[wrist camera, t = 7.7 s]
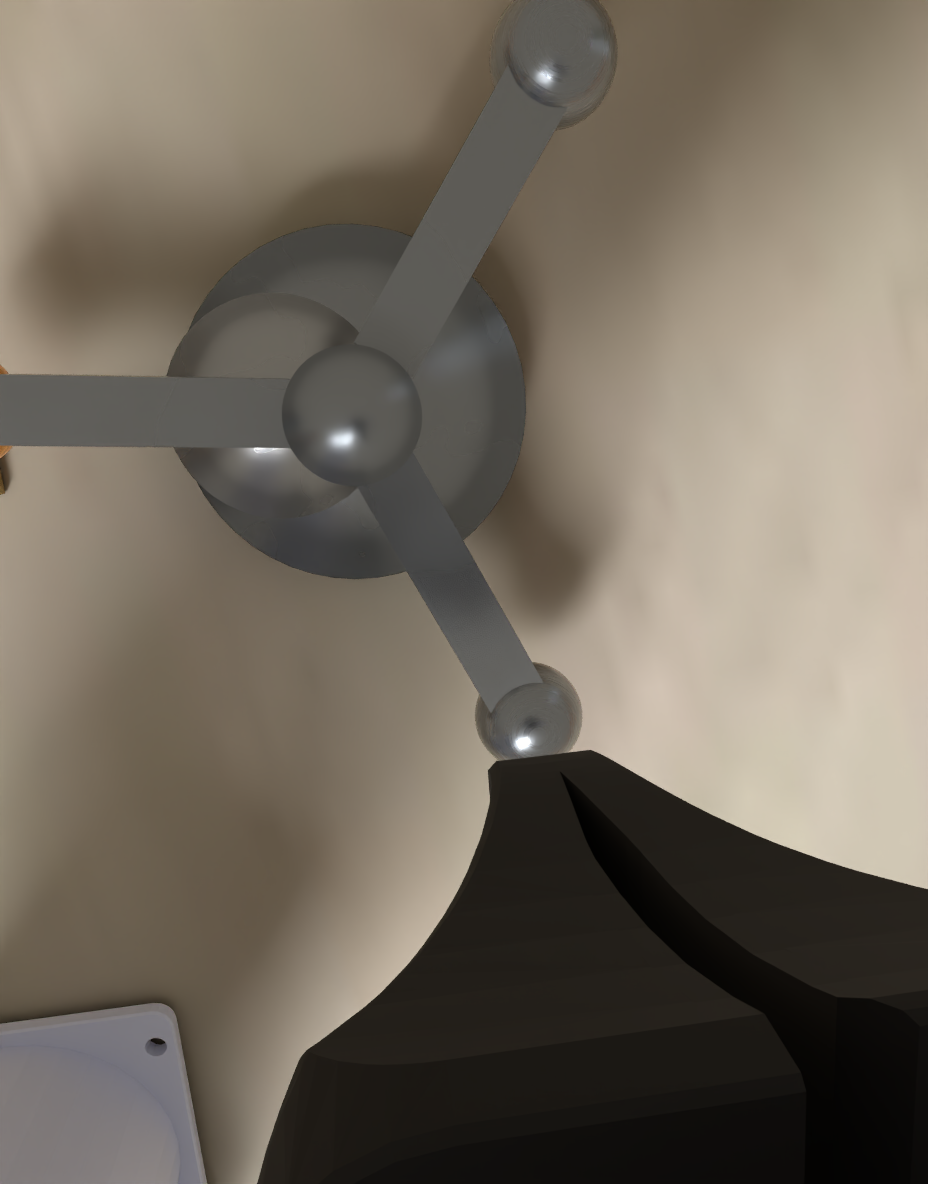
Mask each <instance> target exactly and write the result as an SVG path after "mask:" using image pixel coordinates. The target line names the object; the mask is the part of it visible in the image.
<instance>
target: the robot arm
mask: <svg viewBox="0 0 928 1184" xmlns="http://www.w3.org/2000/svg"><path fill="white" fill-rule="evenodd" d="M488 778H489V792H490V805H489V809H488V813H487V817H486V821H485V824H484V828H483V832H482V835H481V838H480V841H479V844H478V846H477V849H476V851H475V854H474V856H473V859H472V861H471V864H470V866H469V869H468V871H467V874H466V876H465V878H464V880H463V882H462V884H461V886H460V888H459V890H458V892H457V894H456V895H455V897H454V899H453V901H452V902H451V904H450V906H449V908H448V909H447V911H446V913H445V914H444V916H443V918H442V919H441V920H440V922H439V923H438V925H437V926H436V928H435V929H434V931H433V932H432V933H431V935H430V936H429V938H428V939H427V941H426V942H425V943H424V945H423V946H422V948H421V949H420V950H419V951H418V953H417V954H416V955H415V956H414V958H413V959H412V960H411V961H410V963H409V964H408V965H407V966H406V967H405V968H404V969H403V970H402V971H401V972H400V973H399V974H398V976H397V977H396V978H395V979H394V980H393V981H392V982H391V983H390V984H389V985H388V986H387V987H386V988H385V989H384V990H383V991H382V992H381V993H380V994H379V995H378V996H377V997H376V998H375V999H373V1000H372V1001H371V1002H370V1003H369V1004H368V1005H367V1006H365V1007H364V1008H363V1009H362V1010H360V1011H359V1012H358V1013H356V1014H355V1015H354V1016H352V1017H351V1018H350V1019H348V1020H347V1021H346V1022H345V1023H343V1024H342V1025H341V1026H339V1027H338V1028H337V1029H335V1030H334V1031H333V1032H331V1033H330V1034H329V1035H327V1036H326V1037H325V1038H324V1039H322V1040H321V1041H319V1042H318V1043H317V1044H315V1045H314V1046H312V1047H311V1048H309V1049H308V1050H306V1052H305V1053H304V1054H303V1055H302V1056H301V1058H300V1060H299V1062H298V1064H297V1067H296V1069H295V1072H294V1074H293V1077H292V1079H291V1082H290V1085H289V1087H288V1090H287V1092H286V1095H285V1098H284V1100H283V1103H282V1106H281V1108H280V1111H279V1114H278V1117H277V1120H276V1123H275V1126H274V1129H273V1132H272V1135H271V1138H270V1141H269V1144H268V1147H267V1150H266V1153H265V1157H264V1161H263V1164H262V1168H261V1172H260V1176H259V1179H258V1183H257V1184H928V889H924V888H920V887H915V886H912V885H908V884H904V883H900V882H897V881H893V880H889V879H885V878H881V877H878V876H874V875H870V874H866V873H862V872H859V871H855V870H852V869H849V868H846V867H842V866H839V865H836V864H833V863H829V862H826V861H824V860H821V859H818V858H815V857H812V856H810V855H807V854H804V853H801V852H799V851H796V850H793V849H790V848H787V847H785V846H782V845H779V844H776V843H774V842H771V841H769V840H767V839H764V838H762V837H759V836H757V835H754V834H752V833H750V832H748V831H746V830H743V829H741V828H739V827H737V826H735V825H733V824H730V823H728V822H726V821H724V820H722V819H720V818H717V817H715V816H713V815H711V814H709V813H707V812H705V811H703V810H701V809H699V808H697V807H695V806H693V805H691V804H689V803H687V802H686V801H684V800H682V799H680V798H678V797H676V796H674V795H673V794H671V793H669V792H667V791H665V790H663V789H662V788H660V787H658V786H656V785H654V784H653V783H651V782H649V781H647V780H646V779H644V778H642V777H640V776H639V775H637V774H635V773H633V772H632V771H630V770H628V769H626V768H625V767H623V766H621V765H619V764H618V763H616V762H614V761H612V760H611V759H609V758H607V757H605V756H603V755H601V754H599V753H597V752H594V751H592V750H586V751H578V752H569V753H561V754H552V755H544V756H535V757H527V758H518V759H510V760H501V761H496V762H495V763H494V764H493V765H492V767H491V768H490V769H489V770H488ZM153 1038H160V1039H162V1040H164V1041H165V1042H166V1043H164V1044H155V1043H153V1042H151V1040H150V1039H153ZM0 1184H207V1180H206V1174H205V1169H204V1164H203V1158H202V1153H201V1147H200V1142H199V1137H198V1131H197V1126H196V1120H195V1115H194V1110H193V1104H192V1099H191V1093H190V1088H189V1083H188V1077H187V1072H186V1066H185V1061H184V1056H183V1050H182V1045H181V1039H180V1034H179V1029H178V1023H177V1018H176V1015H175V1013H174V1011H173V1010H172V1009H171V1008H170V1007H169V1006H167V1005H164V1004H161V1003H149V1004H142V1005H135V1006H127V1007H120V1008H113V1009H105V1010H98V1011H91V1012H83V1013H76V1014H69V1015H61V1016H54V1017H47V1018H39V1019H32V1020H25V1021H17V1022H10V1023H3V1024H0Z"/></svg>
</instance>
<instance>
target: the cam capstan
mask: <svg viewBox="0 0 928 1184" xmlns="http://www.w3.org/2000/svg"><path fill="white" fill-rule="evenodd" d="M489 62H490V73H491V78H492V82H493V86H494V91H493V93H492V95H491V96H490V98H489V100H488V102H487V104H486V105H485V107H484V109H483V111H482V113H481V114H480V116H479V118H478V120H477V122H476V123H475V125H474V127H473V129H472V131H471V132H470V134H469V136H468V138H467V140H466V141H465V143H464V145H463V147H462V149H461V150H460V152H459V154H458V156H457V158H456V159H455V161H454V163H453V165H452V167H451V168H450V170H449V172H448V174H447V176H446V177H445V179H444V181H443V183H442V185H441V186H440V188H439V190H438V192H437V194H436V195H435V197H434V199H433V201H432V203H431V204H430V206H429V208H428V210H427V212H426V213H425V215H424V217H423V219H422V221H421V222H420V224H419V226H418V228H417V230H416V231H415V233H414V235H413V237H411V236H408V235H406V234H403V233H400V232H397V231H393V230H389V229H385V228H381V227H377V226H368V225H358V224H333V225H324V226H318V227H312V228H306V229H303V230H299V231H296V232H293V233H290V234H287V235H284V236H281V237H279V238H277V239H275V240H273V241H271V242H269V243H267V244H265V245H263V246H261V247H259V248H258V249H256V250H255V251H253V252H252V253H251V254H249V255H248V256H246V257H245V258H243V259H242V260H240V261H239V262H238V263H237V264H236V265H235V266H234V267H233V268H232V269H230V270H229V271H228V272H227V273H226V274H225V275H224V276H223V277H222V278H221V279H220V281H219V282H218V283H217V284H216V285H215V287H214V288H213V289H212V290H211V291H210V293H209V294H208V295H207V297H206V298H205V300H204V302H203V303H202V305H201V307H200V308H199V310H198V311H197V313H196V315H195V317H194V319H193V321H192V324H191V326H190V328H189V331H188V333H187V334H186V335H185V336H184V338H183V339H182V341H181V343H180V344H179V346H178V347H177V349H176V351H175V353H174V356H173V358H172V360H171V363H170V366H169V369H168V373H167V376H110V375H51V374H9V373H8V372H7V371H6V370H5V369H4V368H3V367H2V366H1V365H0V458H1V457H3V456H4V455H5V454H6V453H7V452H8V451H9V450H10V449H11V448H12V446H95V447H174V448H175V451H176V453H177V454H178V456H179V458H180V460H181V462H182V463H183V465H184V466H185V468H186V469H187V470H188V472H189V473H190V474H191V476H192V477H193V478H194V479H195V480H196V481H197V483H198V485H199V487H200V488H201V490H202V492H203V494H204V496H205V497H206V498H207V500H208V501H209V502H210V504H211V505H212V506H213V508H214V509H215V511H216V512H217V513H218V515H219V516H220V517H221V518H222V519H223V520H224V521H225V522H226V523H227V524H228V525H229V526H230V527H231V528H232V529H233V530H234V531H235V532H236V533H237V534H238V535H240V536H241V537H242V538H243V539H245V540H246V541H247V542H248V543H249V544H251V545H252V546H253V547H255V548H257V549H258V550H260V551H261V552H263V553H265V554H266V555H268V556H269V557H271V558H273V559H275V560H278V561H280V562H282V563H284V564H286V565H288V566H290V567H293V568H296V569H299V570H303V571H306V572H309V573H312V574H317V575H322V576H328V577H333V578H347V579H364V578H378V577H383V576H388V575H393V574H398V573H402V572H405V571H407V572H408V574H409V576H410V577H411V579H412V581H413V582H414V584H415V586H416V588H417V589H418V591H419V593H420V594H421V596H422V598H423V599H424V601H425V603H426V604H427V606H428V608H429V609H430V611H431V613H432V615H433V616H434V618H435V620H436V621H437V623H438V625H439V626H440V628H441V630H442V631H443V633H444V635H445V636H446V638H447V640H448V642H449V643H450V645H451V647H452V648H453V650H454V652H455V653H456V655H457V657H458V658H459V660H460V662H461V663H462V665H463V667H464V669H465V670H466V672H467V674H468V675H469V677H470V679H471V680H472V682H473V684H474V685H475V687H476V689H477V691H478V692H479V697H478V700H477V704H476V709H475V721H476V727H477V731H478V734H479V737H480V739H481V741H482V743H483V745H484V746H485V747H486V749H487V750H488V751H489V752H490V753H491V754H492V755H493V756H494V757H495V758H496V759H497V760H499V761H501V760H510V759H518V758H527V757H535V756H544V755H552V754H561V753H568V752H569V751H570V750H571V749H572V747H573V746H574V745H575V743H576V741H577V739H578V736H579V734H580V730H581V726H582V707H581V702H580V699H579V696H578V694H577V692H576V690H575V688H574V687H573V685H572V684H571V683H570V681H569V680H568V679H567V678H566V677H565V676H564V675H563V674H561V673H560V672H559V671H557V670H556V669H554V668H552V667H550V666H547V665H544V664H541V663H536V662H532V661H531V660H530V658H529V656H528V654H527V653H526V651H525V649H524V647H523V646H522V644H521V642H520V640H519V638H518V637H517V635H516V633H515V631H514V630H513V628H512V626H511V624H510V623H509V621H508V619H507V617H506V616H505V614H504V612H503V610H502V608H501V607H500V605H499V603H498V601H497V600H496V598H495V596H494V594H493V593H492V591H491V589H490V587H489V586H488V584H487V582H486V580H485V578H484V577H483V575H482V573H481V571H480V570H479V568H478V566H477V564H476V563H475V561H474V559H473V557H472V555H471V554H470V552H469V550H468V548H467V547H466V545H465V543H464V541H463V540H464V539H465V538H466V537H467V536H469V535H470V534H471V533H472V532H473V531H474V530H475V529H476V528H477V527H478V526H479V525H480V524H481V523H482V521H483V520H484V519H485V518H486V517H487V516H488V515H489V513H490V512H491V510H492V509H493V508H494V506H495V505H496V503H497V502H498V500H499V499H500V497H501V496H502V494H503V492H504V490H505V488H506V486H507V484H508V482H509V480H510V478H511V476H512V473H513V471H514V468H515V465H516V462H517V460H518V457H519V453H520V449H521V444H522V440H523V435H524V426H525V416H526V399H525V385H524V378H523V372H522V366H521V363H520V359H519V356H518V352H517V349H516V345H515V343H514V340H513V338H512V336H511V334H510V331H509V329H508V327H507V324H506V322H505V321H504V319H503V317H502V316H501V314H500V312H499V311H498V309H497V307H496V305H495V304H494V302H493V301H492V300H491V298H490V297H489V296H488V295H487V293H486V292H485V291H484V289H483V288H482V287H481V286H480V284H479V283H478V282H477V281H476V280H475V279H474V278H473V277H472V274H473V273H474V271H475V269H476V267H477V266H478V264H479V262H480V260H481V259H482V257H483V255H484V253H485V252H486V250H487V248H488V246H489V245H490V243H491V241H492V239H493V238H494V236H495V234H496V232H497V231H498V229H499V227H500V225H501V224H502V222H503V220H504V218H505V217H506V215H507V213H508V211H509V210H510V208H511V206H512V204H513V203H514V201H515V199H516V197H517V196H518V194H519V192H520V190H521V189H522V187H523V185H524V183H525V182H526V180H527V178H528V176H529V175H530V173H531V171H532V169H533V168H534V166H535V164H536V162H537V161H538V159H539V157H540V155H541V154H542V152H543V150H544V148H545V147H546V145H547V143H548V141H549V140H550V138H551V136H552V134H553V133H554V131H555V130H560V129H565V128H568V127H571V126H574V125H576V124H578V123H580V122H581V121H582V120H584V119H585V118H587V117H588V116H589V115H590V114H591V113H593V112H594V111H595V110H596V108H597V107H598V106H599V105H600V104H601V102H602V101H603V99H604V98H605V96H606V94H607V93H608V91H609V89H610V87H611V84H612V81H613V78H614V74H615V70H616V65H617V41H616V35H615V31H614V27H613V25H612V22H611V19H610V17H609V15H608V13H607V12H606V10H605V9H604V7H603V6H602V5H601V3H600V2H599V1H598V0H514V1H513V2H512V3H511V4H510V5H509V6H508V7H507V9H506V10H505V12H504V13H503V15H502V16H501V18H500V20H499V22H498V24H497V26H496V28H495V31H494V34H493V37H492V42H491V47H490V57H489Z"/></svg>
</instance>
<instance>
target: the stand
mask: <svg viewBox="0 0 928 1184" xmlns="http://www.w3.org/2000/svg"><path fill="white" fill-rule="evenodd" d="M4 493H5V490H4V485H3V480H2V475H1V470H0V495H1V494H4Z"/></svg>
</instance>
